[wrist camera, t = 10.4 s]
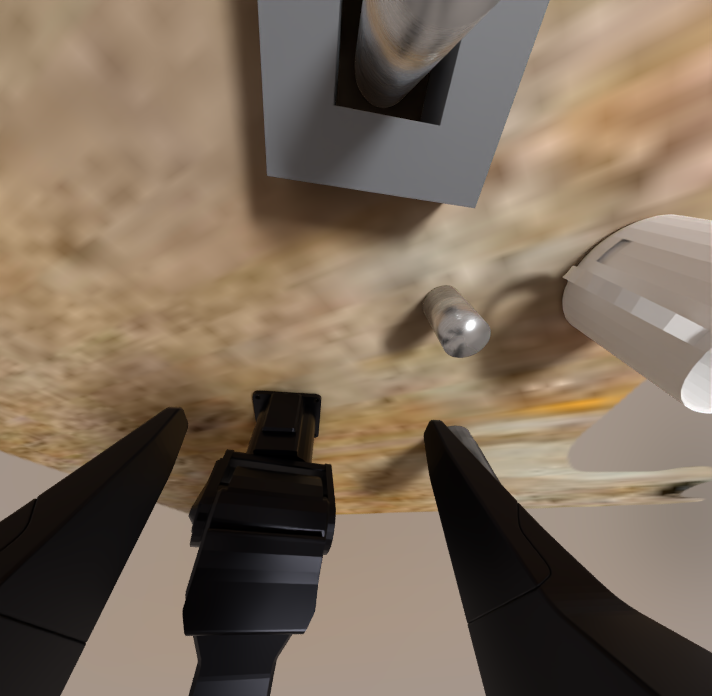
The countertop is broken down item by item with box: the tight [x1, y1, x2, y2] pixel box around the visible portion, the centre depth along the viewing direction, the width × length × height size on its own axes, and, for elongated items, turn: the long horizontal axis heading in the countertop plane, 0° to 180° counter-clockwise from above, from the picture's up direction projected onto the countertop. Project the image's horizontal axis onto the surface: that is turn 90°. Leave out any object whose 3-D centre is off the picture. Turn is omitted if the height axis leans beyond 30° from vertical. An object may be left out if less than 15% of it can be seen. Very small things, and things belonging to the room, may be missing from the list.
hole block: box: [258, 0, 550, 208], centre depth 11 cm, size 10×10×4 cm
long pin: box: [354, 0, 500, 108], centre depth 8 cm, size 3×3×10 cm
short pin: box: [422, 285, 491, 358], centre depth 18 cm, size 3×3×5 cm
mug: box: [562, 214, 712, 413], centre depth 16 cm, size 12×9×9 cm
